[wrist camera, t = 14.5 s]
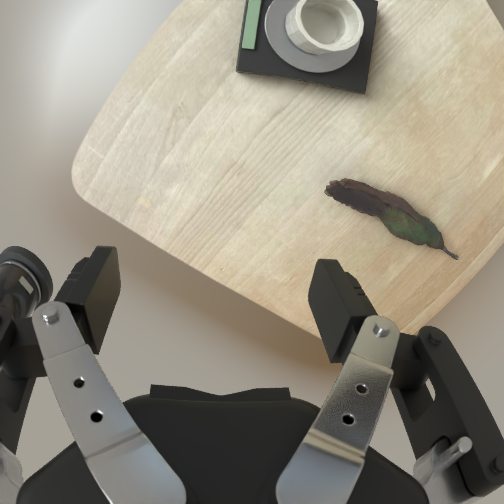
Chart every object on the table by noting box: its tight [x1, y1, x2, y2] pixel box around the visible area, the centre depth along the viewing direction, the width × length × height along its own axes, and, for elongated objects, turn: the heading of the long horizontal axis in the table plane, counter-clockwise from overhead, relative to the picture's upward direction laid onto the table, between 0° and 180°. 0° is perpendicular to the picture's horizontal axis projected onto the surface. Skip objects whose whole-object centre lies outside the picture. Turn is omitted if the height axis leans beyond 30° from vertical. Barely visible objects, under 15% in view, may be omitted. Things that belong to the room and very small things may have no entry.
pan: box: [264, 0, 360, 73], centre depth 25 cm, size 10×10×1 cm
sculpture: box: [324, 178, 459, 260], centre depth 38 cm, size 5×29×5 cm, turn 64°
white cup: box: [285, 0, 364, 55], centre depth 22 cm, size 6×6×5 cm
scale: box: [236, 0, 378, 94], centre depth 26 cm, size 14×12×3 cm
